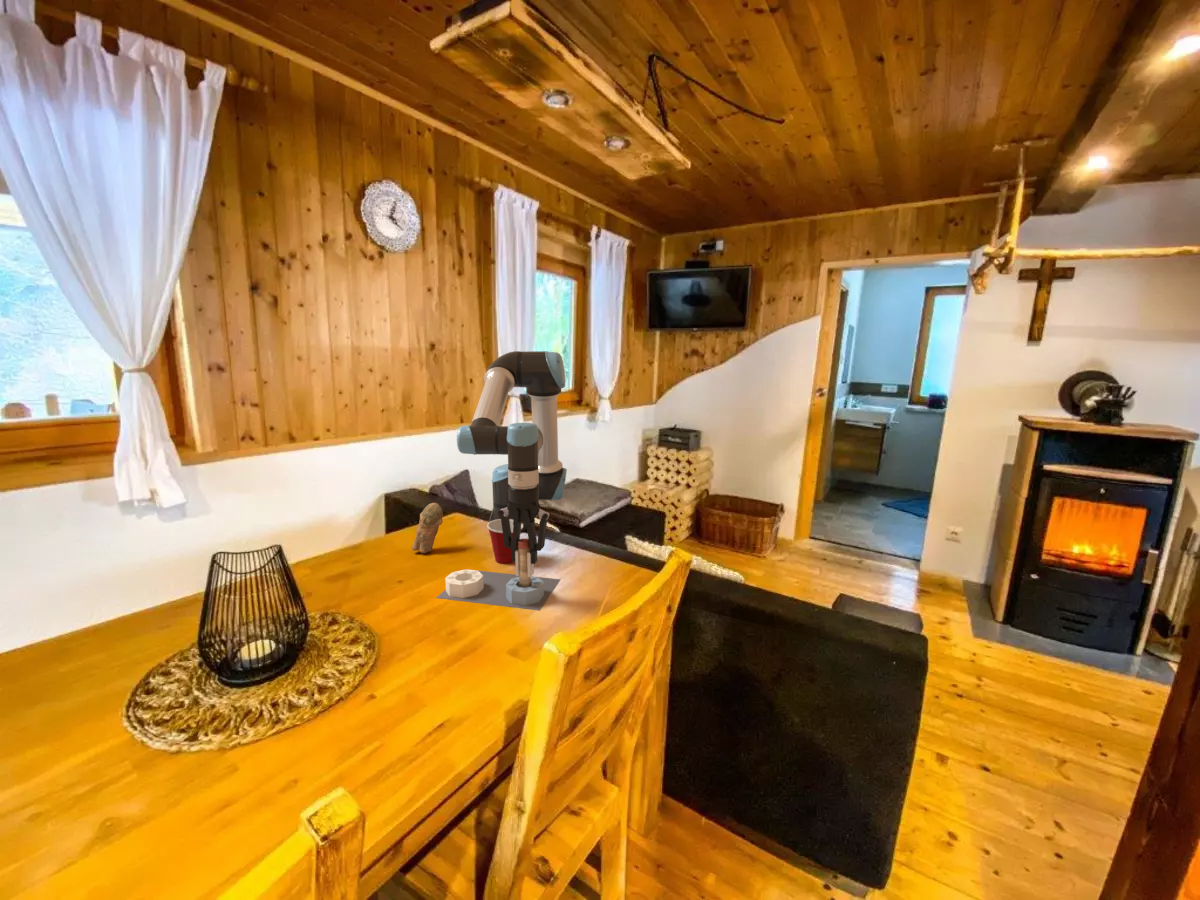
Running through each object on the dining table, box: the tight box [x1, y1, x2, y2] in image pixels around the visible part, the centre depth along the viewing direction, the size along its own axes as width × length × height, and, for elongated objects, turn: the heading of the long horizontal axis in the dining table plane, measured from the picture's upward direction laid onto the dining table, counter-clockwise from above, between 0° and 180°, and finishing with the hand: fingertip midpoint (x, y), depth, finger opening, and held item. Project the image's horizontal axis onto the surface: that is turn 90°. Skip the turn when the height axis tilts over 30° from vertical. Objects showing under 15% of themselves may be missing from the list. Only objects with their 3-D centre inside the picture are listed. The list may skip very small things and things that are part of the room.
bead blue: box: [506, 575, 544, 606], centre depth 129 cm, size 9×9×4 cm
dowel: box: [518, 537, 531, 588], centre depth 127 cm, size 3×3×14 cm
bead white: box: [444, 568, 484, 598], centre depth 132 cm, size 9×9×4 cm
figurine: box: [411, 502, 444, 554], centre depth 158 cm, size 8×8×15 cm
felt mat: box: [435, 569, 561, 611], centre depth 133 cm, size 18×28×1 cm, turn 78°
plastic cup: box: [486, 519, 523, 565], centre depth 151 cm, size 11×11×12 cm
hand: (524, 574), depth 128 cm, fingers closed on dowel, 2 cm apart
